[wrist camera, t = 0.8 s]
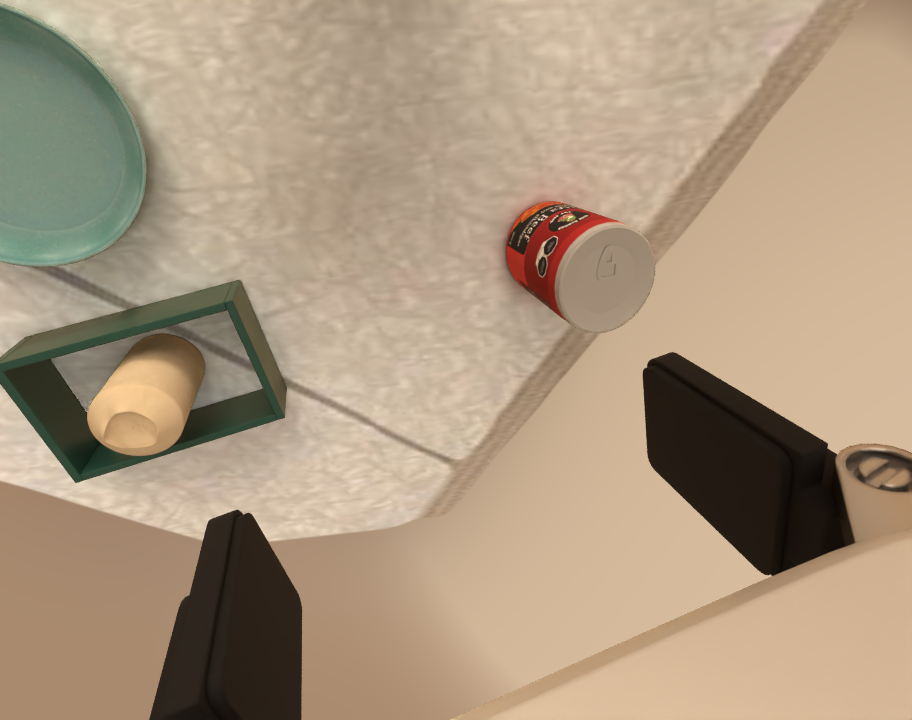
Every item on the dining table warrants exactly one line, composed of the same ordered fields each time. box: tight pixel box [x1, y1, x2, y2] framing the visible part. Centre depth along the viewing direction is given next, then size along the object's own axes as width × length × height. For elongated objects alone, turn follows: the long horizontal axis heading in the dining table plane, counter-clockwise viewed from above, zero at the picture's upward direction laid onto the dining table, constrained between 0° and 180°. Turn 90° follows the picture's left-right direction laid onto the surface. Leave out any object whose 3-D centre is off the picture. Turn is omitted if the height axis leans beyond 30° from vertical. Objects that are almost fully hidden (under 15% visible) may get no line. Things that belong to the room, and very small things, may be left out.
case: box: [0, 280, 287, 483], centre depth 38 cm, size 10×16×5 cm, turn 102°
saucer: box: [0, 3, 147, 267], centre depth 31 cm, size 15×15×3 cm
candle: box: [87, 334, 204, 456], centre depth 36 cm, size 6×6×10 cm
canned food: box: [506, 202, 655, 333], centre depth 40 cm, size 8×8×11 cm
